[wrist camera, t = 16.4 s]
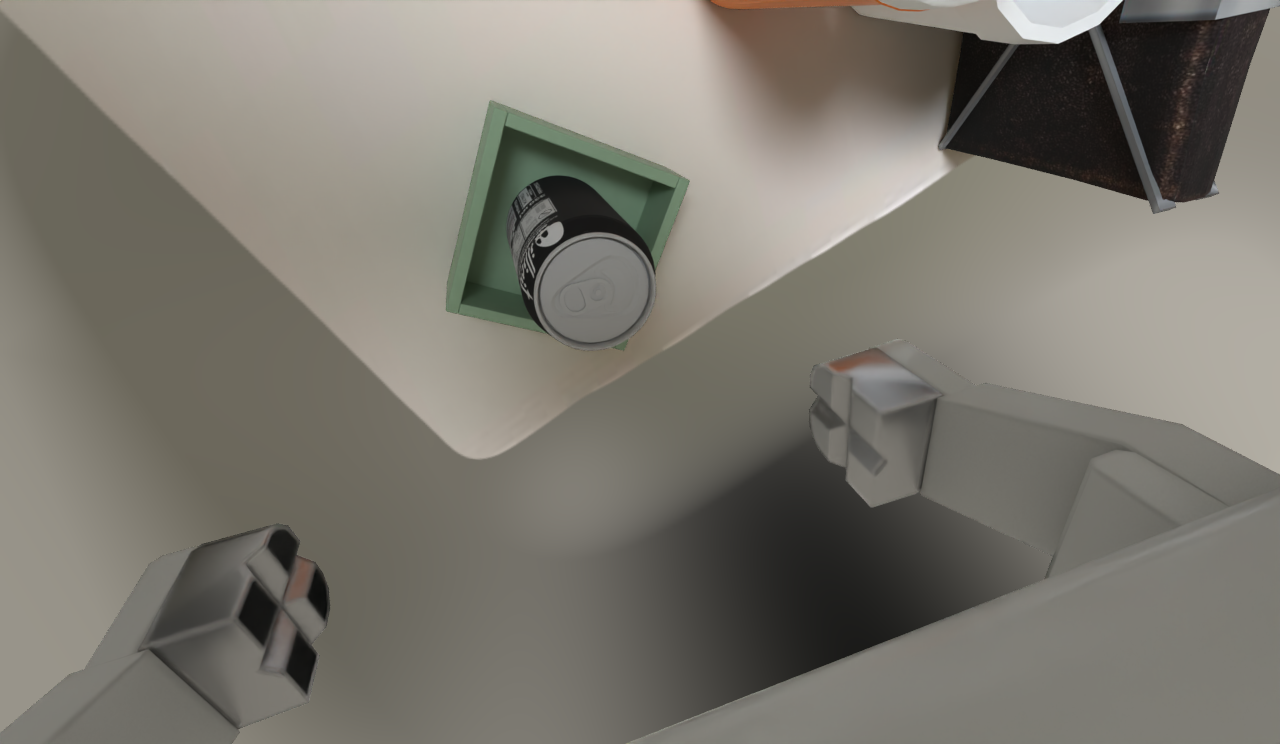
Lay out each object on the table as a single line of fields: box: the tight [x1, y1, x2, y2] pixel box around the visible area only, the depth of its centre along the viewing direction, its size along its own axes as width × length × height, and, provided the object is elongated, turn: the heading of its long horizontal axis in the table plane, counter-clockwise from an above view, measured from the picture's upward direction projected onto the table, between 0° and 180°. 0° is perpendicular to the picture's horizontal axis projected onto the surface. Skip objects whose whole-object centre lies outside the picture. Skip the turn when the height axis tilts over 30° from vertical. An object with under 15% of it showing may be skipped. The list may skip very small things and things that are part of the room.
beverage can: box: [506, 175, 656, 351], centre depth 30 cm, size 7×7×12 cm
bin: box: [446, 101, 690, 350], centre depth 34 cm, size 11×11×5 cm
